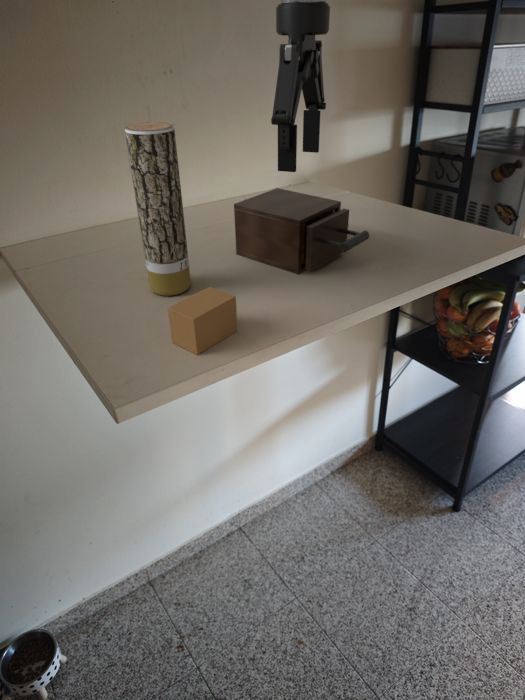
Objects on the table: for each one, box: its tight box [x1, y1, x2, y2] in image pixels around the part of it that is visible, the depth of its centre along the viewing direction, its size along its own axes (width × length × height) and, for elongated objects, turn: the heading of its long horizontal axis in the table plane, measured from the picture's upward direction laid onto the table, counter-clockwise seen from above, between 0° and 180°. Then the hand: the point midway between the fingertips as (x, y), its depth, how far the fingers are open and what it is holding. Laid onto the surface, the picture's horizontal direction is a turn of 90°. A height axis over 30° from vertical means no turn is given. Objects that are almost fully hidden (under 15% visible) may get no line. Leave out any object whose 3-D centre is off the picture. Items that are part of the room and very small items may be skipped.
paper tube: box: [124, 121, 192, 297], centre depth 76 cm, size 7×7×25 cm
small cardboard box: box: [167, 286, 238, 356], centre depth 69 cm, size 8×5×6 cm, turn 141°
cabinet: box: [233, 187, 342, 275], centre depth 92 cm, size 15×13×10 cm
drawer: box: [301, 208, 370, 272], centre depth 89 cm, size 19×11×8 cm, turn 51°
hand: (299, 161), depth 81 cm, fingers open, 13 cm apart
